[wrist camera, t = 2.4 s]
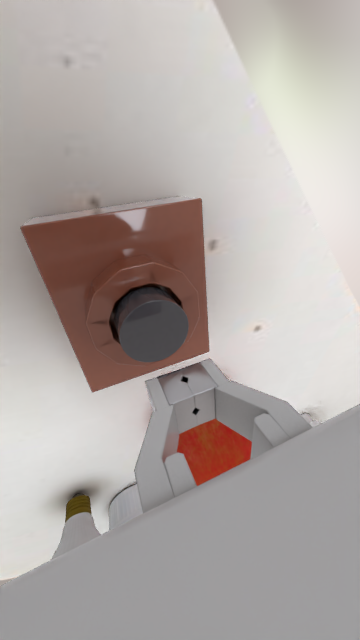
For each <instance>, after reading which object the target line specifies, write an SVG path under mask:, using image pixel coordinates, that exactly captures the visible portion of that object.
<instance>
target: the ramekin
mask: <svg viewBox="0 0 360 640" xmlns="http://www.w3.org/2000/svg"><path fill="white" fill-rule="evenodd" d="M141 514H143V511H142V506H141V502H140V497H139V492H138V487H137V484H135V485H133V486H131V487H129V488H127V489H125V490H124V491H122V492H121V493H120V494H119V495H117V496H116V498H115V499H114V500H113V501H112V503H111V505H110V507H109V531H110V530H112V529H114V528H116V527H118V526H119V525H121V524H123V523H125V522H127V521H129V520H131V519H133V518H135V517H137V516H139V515H141Z"/></svg>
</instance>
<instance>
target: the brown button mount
mask: <svg viewBox="0 0 360 640" xmlns="http://www.w3.org/2000/svg"><path fill="white" fill-rule="evenodd" d="M20 229H21V231H22V233H23V236H24V238H25V240H26V242H27V245H28V247H29V249H30V252H31V254H32V256H33V258H34V261H35V263H36V265H37V268H38V270H39V272H40V274H41V277H42V279H43V281H44V284H45V286H46V288H47V290H48V293H49V295H50V297H51V300H52V302H53V304H54V306H55V309H56V311H57V313H58V316H59V318H60V320H61V322H62V325H63V327H64V329H65V332H66V334H67V336H68V338H69V341H70V343H71V345H72V348H73V350H74V352H75V354H76V357H77V359H78V361H79V364H80V366H81V368H82V370H83V373H84V375H85V377H86V380H87V382H88V384H89V386H90V389H91V391H92V392H95V391H98V390H101V389H104V388H107V387H110V386H113V385H115V384H118V383H121V382H124V381H127V380H130V379H133V378H135V377H138V376H141V375H144V374H147V373H150V372H153V371H155V370H158V369H161V368H164V367H167V366H170V365H173V364H175V363H178V362H181V361H184V360H187V359H190V358H193V357H195V356H198V355H201V354H204V353H207V352H209V336H208V316H207V297H206V277H205V257H204V237H203V217H202V199H201V198H193V197H182V196H175V197H168V198H161V199H155V200H148V201H141V202H135V203H128V204H121V205H115V206H108V207H101V208H95V209H88V210H81V211H74V212H68V213H61V214H54V215H48V216H41V217H34V218H31V219H30V220H29V221H27V222H26V223H25V224H23V225H22V226H21V227H20ZM144 287H155V288H159V289H162V290H164V291H165V292H167V293H168V294H169V295H170V296H171V297H172V298H173V299H174V300H175V301H176V302H177V303H178V305H179V306H180V307H181V308H182V309H183V310H184V312H185V313H186V315H187V318H188V323H189V329H188V334H187V337H186V339H185V341H184V343H183V344H182V346H181V347H180V348H179V349H178V350H177V351H176V352H175V353H174V354H172V355H171V356H169V357H167V358H165V359H163V360H160V361H157V362H140V361H137V360H134V359H132V358H131V357H129V356H128V355H127V354H126V353H125V352H124V351H123V349H122V347H121V344H120V341H119V338H118V335H117V331H116V328H115V324H114V314H115V311H116V308H117V306H118V304H119V303H120V301H121V300H122V299H123V298H124V297H125V296H126V295H127V294H129V293H130V292H132V291H134V290H136V289H139V288H144Z"/></svg>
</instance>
